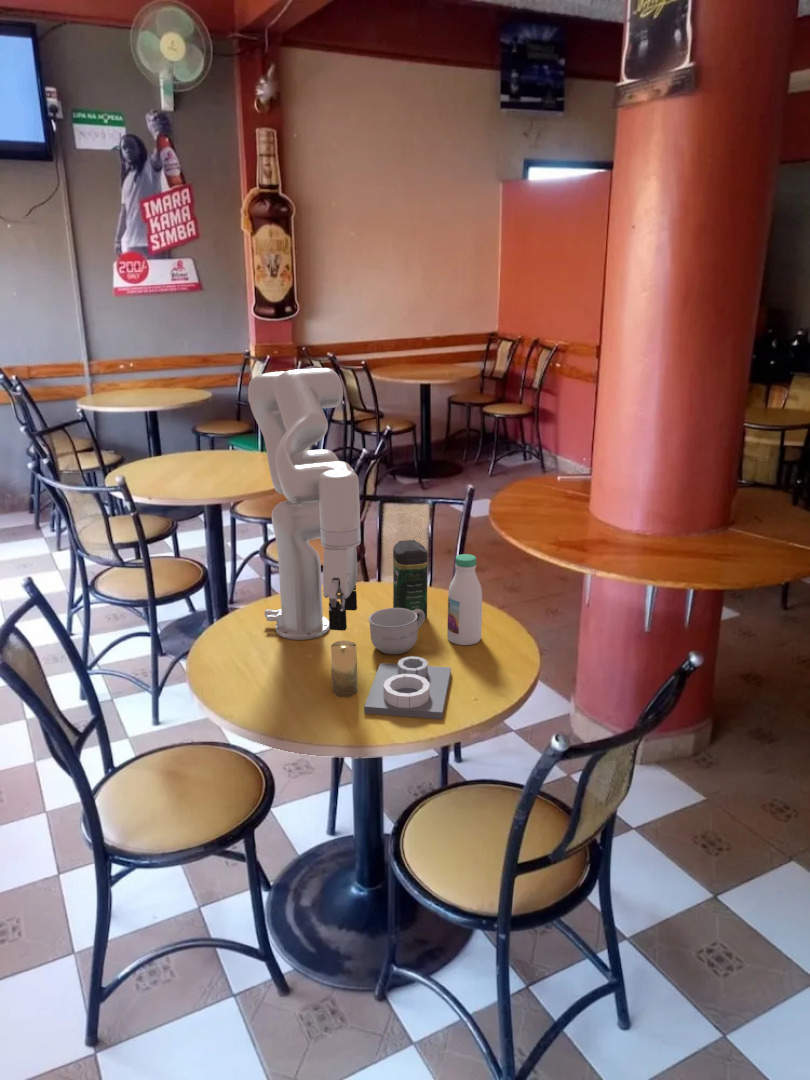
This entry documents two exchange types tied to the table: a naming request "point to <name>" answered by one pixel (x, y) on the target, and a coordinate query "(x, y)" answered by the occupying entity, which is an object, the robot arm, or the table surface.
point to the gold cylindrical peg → (344, 668)
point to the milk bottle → (465, 603)
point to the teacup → (395, 629)
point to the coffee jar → (410, 576)
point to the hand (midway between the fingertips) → (343, 619)
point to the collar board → (409, 689)
